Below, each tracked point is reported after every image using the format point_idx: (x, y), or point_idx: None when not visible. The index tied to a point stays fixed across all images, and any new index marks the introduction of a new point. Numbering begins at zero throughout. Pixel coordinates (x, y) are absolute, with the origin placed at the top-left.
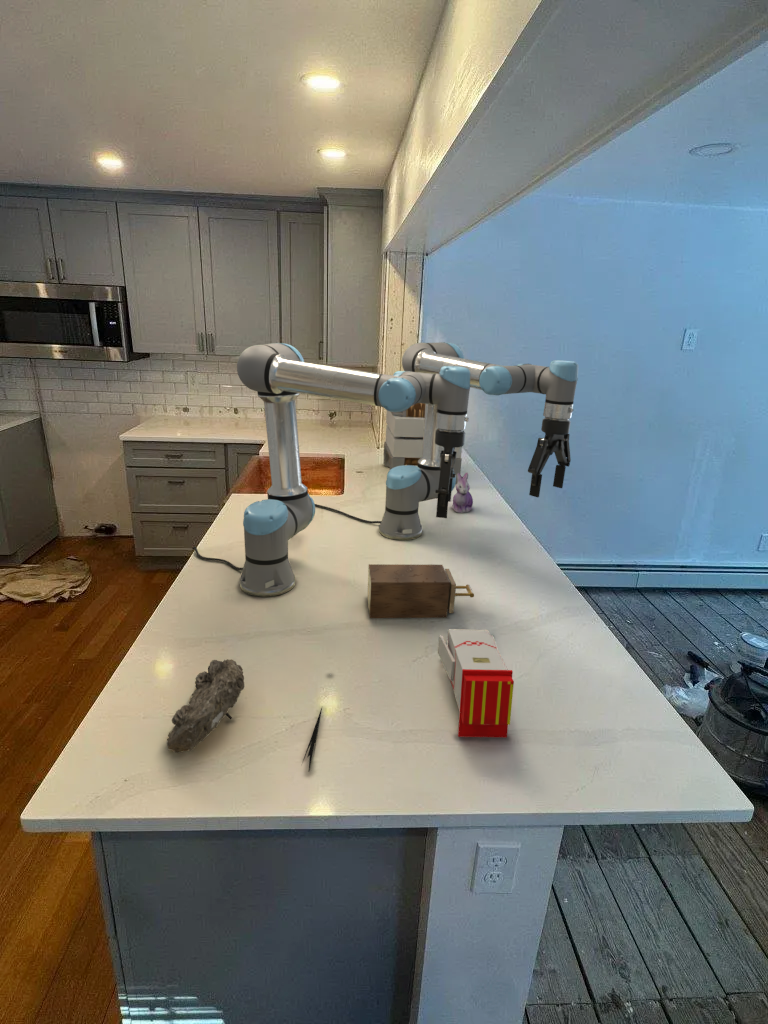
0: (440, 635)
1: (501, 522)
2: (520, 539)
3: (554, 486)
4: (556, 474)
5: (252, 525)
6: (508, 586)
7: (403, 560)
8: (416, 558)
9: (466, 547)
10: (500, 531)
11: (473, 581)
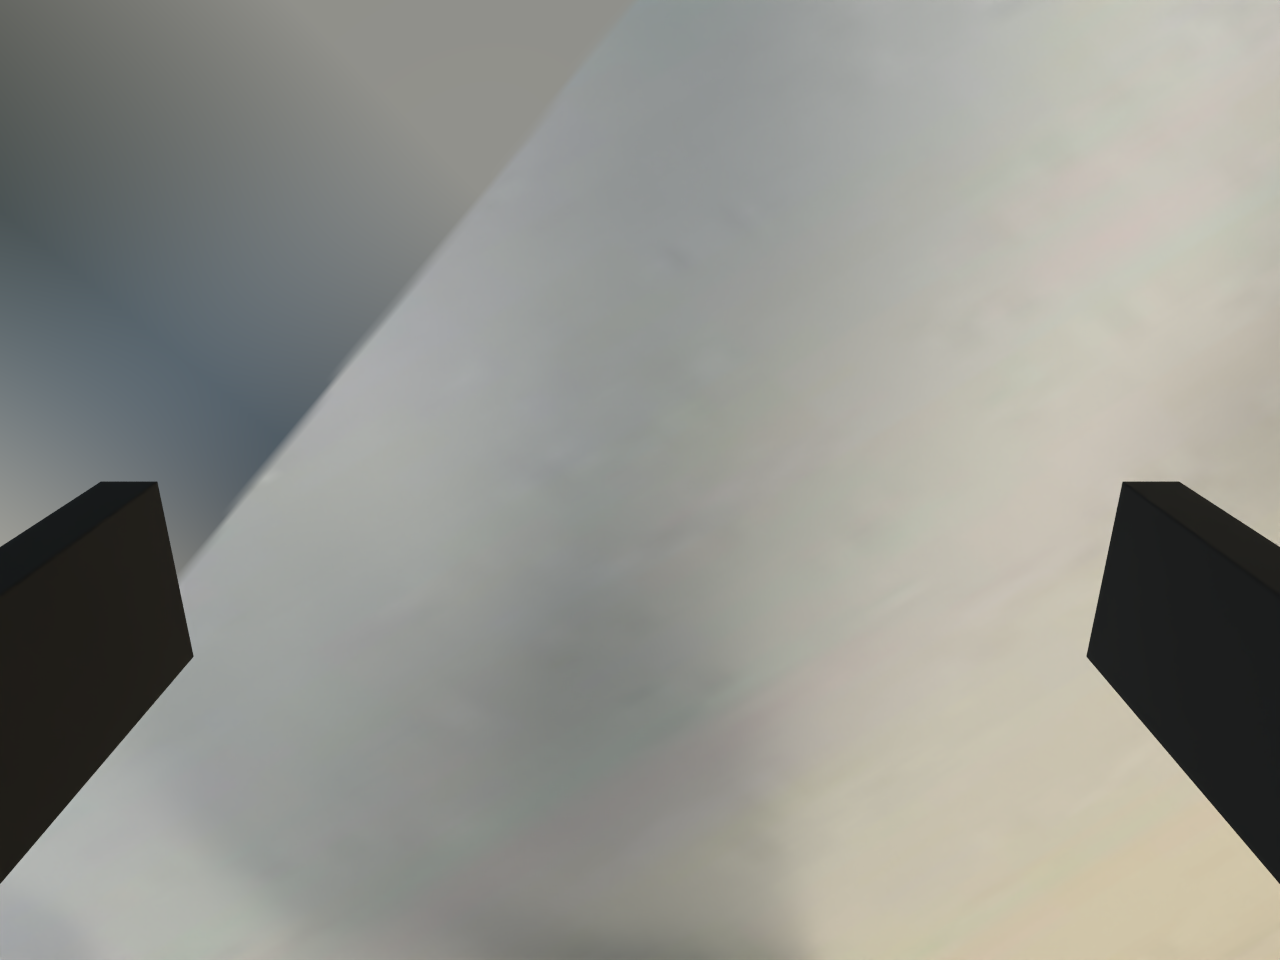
0: None
1: (64, 876)
2: None
3: (183, 627)
4: (10, 809)
5: None
6: (941, 302)
7: (1054, 892)
8: (980, 868)
9: (615, 791)
10: (201, 802)
11: (1032, 495)
